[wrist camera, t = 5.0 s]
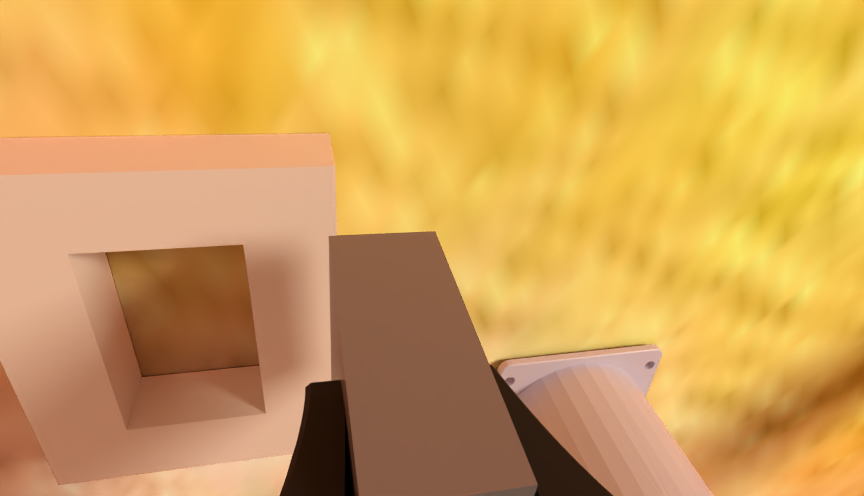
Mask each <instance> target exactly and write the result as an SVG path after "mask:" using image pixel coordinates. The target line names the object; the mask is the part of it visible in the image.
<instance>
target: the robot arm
mask: <svg viewBox="0 0 864 496" xmlns="http://www.w3.org/2000/svg"><path fill="white" fill-rule="evenodd" d="M661 356H662V352H661V350H660V349H659V347H658V346H657V345H652V344H651V345H642V346H632V347H623V348H614V349H604V350H595V351H586V352H576V353H567V354H558V355H548V356H539V357H530V358H520V359H511V360H506V361H504V362H502V363H501V364H500V365H499V367H498V371H497V370H496V369H495V368H494V367H493V366H492V365H490V368H491V370H492V373H493V375H494V378H495V380H496V383H497V385H498V388H499V390H500V393H501V395H502V398H503V400H504V402H505V405H506V407H507V410H508V412H509V415H510V417H511V420H512V422H513V425H514V427H515V430H516V432H517V435H518V437H519V439H520V442H521V444H522V447H523V449H524V452H525V454H526V457H527V459H528V462H529V464H530V467H531V469H532V471H533V474H534V476H535V479H536V481H537V484H538V486H537V489H536V492H535V495H534V496H714V495H713V494H712V492H711V491H710V490H709V488H708V487H707V485H706V484H705V482H704V481H703V480H702V478H701V477H700V475H699V474H698V472H697V471H696V469H695V468H694V467H693V465H692V464H691V462H690V461H689V459H688V458H687V456H686V455H685V454H684V452H683V451H682V449H681V448H680V446H679V445H678V443H677V442H676V441H675V439H674V438H673V436H672V435H671V433H670V432H669V430H668V429H667V428H666V426H665V425H664V423H663V422H662V420H661V419H660V418H659V416H658V415H657V413H656V412H655V410H654V409H653V407H652V406H651V405H650V403H649V402H648V400H647V399H646V395H647V392H648V390H649V387H650V384H651V382H652V379H653V377H654V374H655V372H656V369H657V366H658V364H659V361H660V359H661ZM507 378H509V379H507ZM280 496H346V461H345V407H344V400H343V393H342V386H341V380H333V381H323V382H313V383H310V384H309V385H308V386H306V387H305V401H304V409H303V415H302V420H301V425H300V429H299V433H298V438H297V442H296V446H295V449H294V452H293V456H292V459H291V463H290V466H289V469H288V473H287V476H286V479H285V482H284V485H283V488H282V491H281V493H280Z"/></svg>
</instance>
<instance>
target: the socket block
mask: <svg viewBox="0 0 864 496" xmlns="http://www.w3.org/2000/svg"><path fill="white" fill-rule="evenodd" d="M329 236H337V220H336V185H335V163H334V157H333V151H332V145H331V139H330V133H300V134H231V135H162V136H93V137H24V138H0V362H1V364H2V366H3V368H4V370H5V372H6V374H7V377H8V379H9V381H10V383H11V385H12V387H13V389H14V391H15V393H16V396H17V398H18V400H19V402H20V404H21V406H22V408H23V410H24V413H25V415H26V417H27V419H28V421H29V423H30V425H31V427H32V429H33V432H34V434H35V436H36V438H37V440H38V442H39V444H40V446H41V449H42V451H43V453H44V455H45V457H46V459H47V461H48V463H49V465H50V468H51V470H52V472H53V474H54V476H55V478H56V480H57V482H58V485H62V484H69V483H77V482H84V481H92V480H99V479H107V478H114V477H122V476H129V475H137V474H144V473H152V472H159V471H167V470H174V469H182V468H189V467H197V466H204V465H212V464H219V463H227V462H234V461H242V460H249V459H257V458H264V457H272V456H279V455H287V454H293V452H294V449H295V446H296V442H297V438H298V433H299V429H300V425H301V420H302V415H303V409H304V401H305V387H306V386H308V385H309V384H310V383H313V382H323V381H331V338H330V284H329ZM227 245H243V247H244V254H245V262H246V269H247V276H248V284H249V291H250V299H251V306H252V313H253V321H254V328H255V336H256V343H257V351H258V358H259V366H249V367H239V368H229V369H219V370H209V371H198V372H188V373H178V374H168V375H158V376H148V377H142V376H141V372H140V369H139V365H138V362H137V358H136V355H135V352H134V348H133V345H132V341H131V338H130V335H129V331H128V328H127V324H126V321H125V318H124V314H123V311H122V307H121V304H120V301H119V297H118V294H117V290H116V287H115V284H114V280H113V277H112V273H111V270H110V266H109V263H108V260H107V256H106V253H105V252H117V251H135V250H153V249H172V248H190V247H208V246H227Z"/></svg>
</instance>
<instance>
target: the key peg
mask: <svg viewBox="0 0 864 496" xmlns="http://www.w3.org/2000/svg"><path fill="white" fill-rule="evenodd" d="M329 284H330V338H331V381H333V380H341V386H342V393H343V400H344V407H345V461H346V496H534V495H535V492H536V489H537V486H538V484H537V481H536V479H535V476H534V474H533V471H532V469H531V467H530V464H529V462H528V459H527V457H526V454H525V452H524V449H523V447H522V444H521V442H520V439H519V437H518V435H517V432H516V430H515V427H514V425H513V422H512V420H511V417H510V415H509V412H508V410H507V407H506V405H505V402H504V400H503V398H502V395H501V393H500V390H499V388H498V385H497V383H496V380H495V378H494V375H493V373H492V370H491V368H490V365H489V363H488V361H487V358H486V356H485V353H484V351H483V348H482V346H481V343H480V341H479V338H478V336H477V333H476V331H475V329H474V326H473V324H472V321H471V319H470V316H469V314H468V311H467V309H466V306H465V304H464V301H463V299H462V296H461V294H460V292H459V289H458V287H457V284H456V282H455V279H454V277H453V274H452V272H451V269H450V267H449V264H448V262H447V259H446V257H445V255H444V252H443V250H442V247H441V245H440V242H439V240H438V237H437V235H436V232H435V231H434V232H410V233H386V234H362V235H338V236H329Z"/></svg>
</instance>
